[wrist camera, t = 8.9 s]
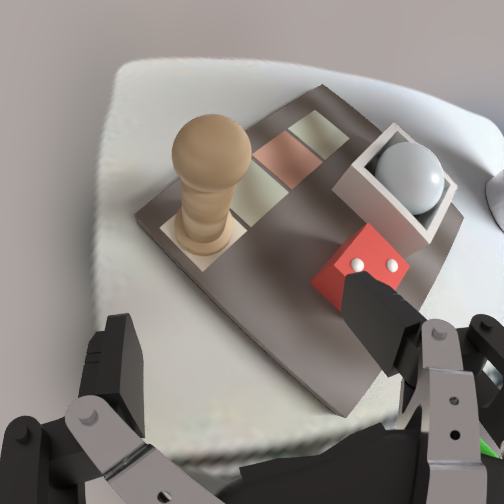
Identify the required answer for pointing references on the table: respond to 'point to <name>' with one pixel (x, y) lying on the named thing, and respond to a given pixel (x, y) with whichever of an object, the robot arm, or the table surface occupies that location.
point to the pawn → (208, 180)
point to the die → (360, 264)
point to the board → (297, 245)
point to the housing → (390, 200)
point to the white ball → (411, 176)
